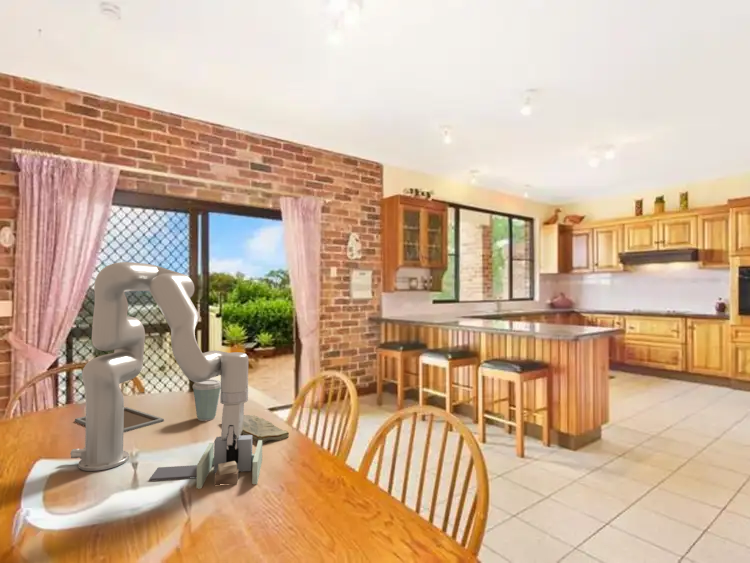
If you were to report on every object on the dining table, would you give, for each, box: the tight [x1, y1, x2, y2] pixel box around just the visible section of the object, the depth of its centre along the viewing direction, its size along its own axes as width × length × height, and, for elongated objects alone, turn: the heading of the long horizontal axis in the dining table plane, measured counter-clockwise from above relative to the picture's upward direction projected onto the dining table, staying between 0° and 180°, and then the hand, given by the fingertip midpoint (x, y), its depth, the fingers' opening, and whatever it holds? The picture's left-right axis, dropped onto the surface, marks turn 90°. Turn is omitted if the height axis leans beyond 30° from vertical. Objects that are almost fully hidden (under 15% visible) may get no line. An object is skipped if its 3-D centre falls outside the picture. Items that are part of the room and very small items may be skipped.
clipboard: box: [74, 406, 165, 433], centre depth 162 cm, size 19×2×30 cm
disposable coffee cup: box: [192, 378, 221, 422], centre depth 166 cm, size 11×11×15 cm
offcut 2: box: [214, 469, 240, 486], centre depth 113 cm, size 6×3×3 cm, turn 100°
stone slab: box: [241, 414, 290, 444], centre depth 154 cm, size 12×4×30 cm
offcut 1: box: [218, 461, 237, 475], centre depth 114 cm, size 4×3×2 cm, turn 119°
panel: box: [148, 464, 197, 482], centre depth 118 cm, size 13×7×1 cm, turn 100°
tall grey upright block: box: [213, 434, 253, 474], centre depth 121 cm, size 10×4×9 cm, turn 100°
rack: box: [196, 440, 263, 489], centre depth 119 cm, size 15×16×6 cm
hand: (233, 459), depth 121 cm, fingers closed on tall grey upright block, 3 cm apart
